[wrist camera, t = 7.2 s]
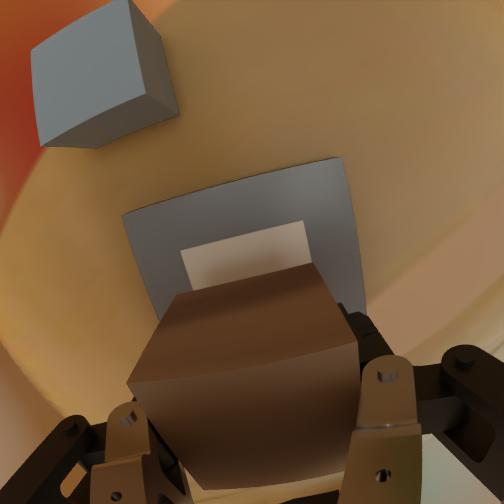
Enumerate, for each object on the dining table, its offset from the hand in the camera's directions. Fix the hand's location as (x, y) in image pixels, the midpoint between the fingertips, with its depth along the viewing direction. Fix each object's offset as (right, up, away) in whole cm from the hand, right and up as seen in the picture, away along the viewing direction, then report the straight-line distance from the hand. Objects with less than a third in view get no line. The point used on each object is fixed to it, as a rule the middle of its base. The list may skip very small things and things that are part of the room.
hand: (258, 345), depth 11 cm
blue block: (-7, +12, +2) cm, 14 cm away
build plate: (0, +2, +5) cm, 5 cm away
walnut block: (0, 0, 0) cm, 0 cm away
